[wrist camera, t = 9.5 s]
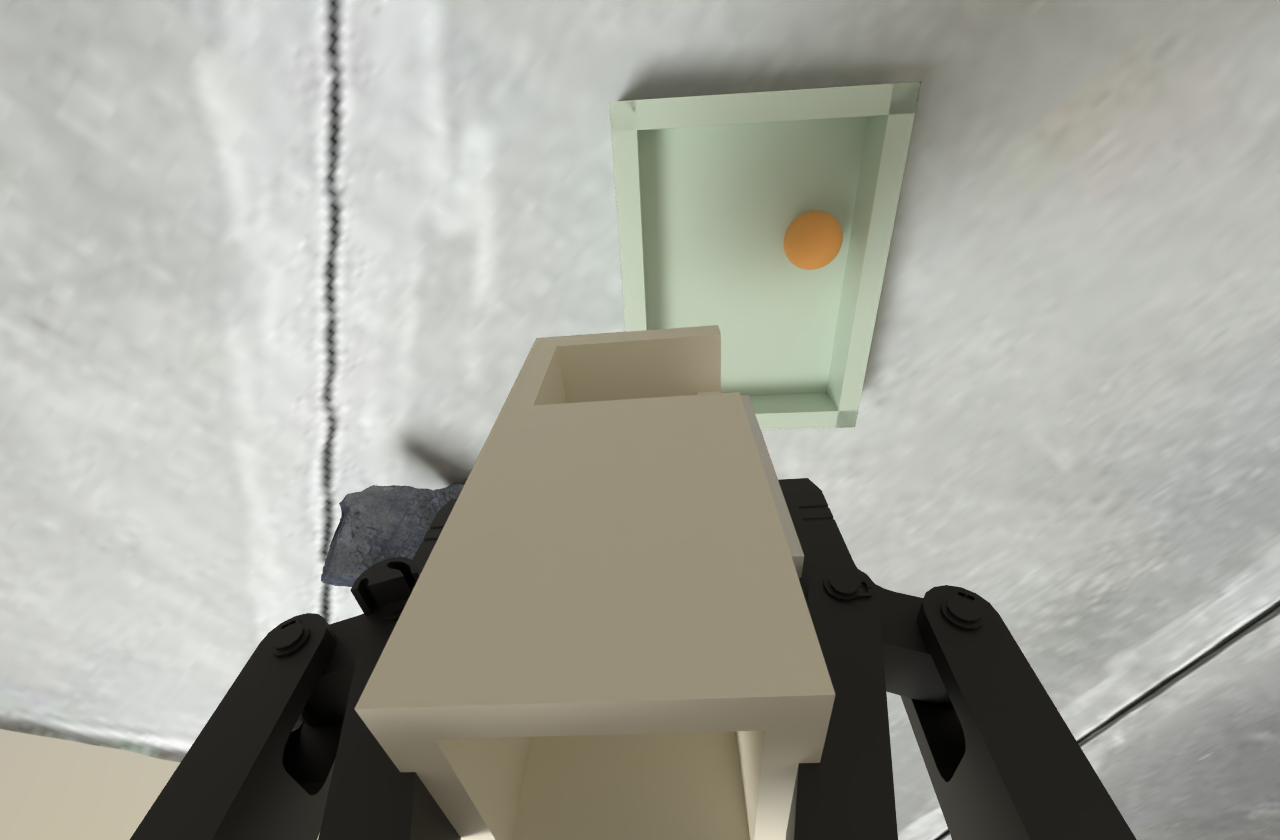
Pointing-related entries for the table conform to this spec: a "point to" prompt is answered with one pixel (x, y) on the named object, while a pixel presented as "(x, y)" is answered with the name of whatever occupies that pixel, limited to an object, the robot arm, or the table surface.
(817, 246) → the ball
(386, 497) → the stone
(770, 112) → the tray
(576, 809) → the hollow box
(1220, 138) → the table surface
